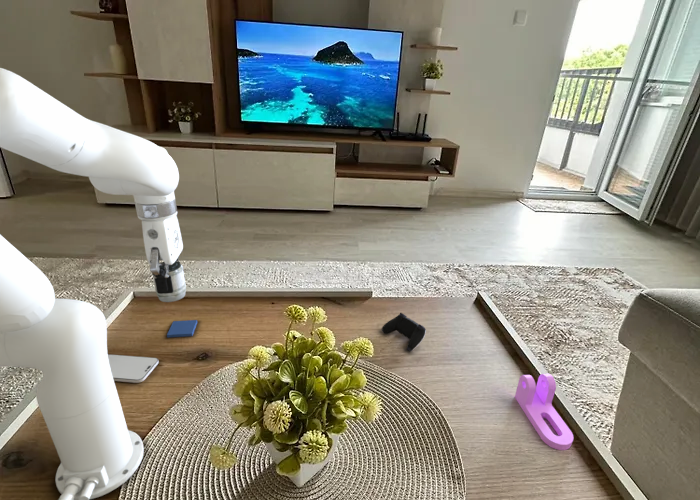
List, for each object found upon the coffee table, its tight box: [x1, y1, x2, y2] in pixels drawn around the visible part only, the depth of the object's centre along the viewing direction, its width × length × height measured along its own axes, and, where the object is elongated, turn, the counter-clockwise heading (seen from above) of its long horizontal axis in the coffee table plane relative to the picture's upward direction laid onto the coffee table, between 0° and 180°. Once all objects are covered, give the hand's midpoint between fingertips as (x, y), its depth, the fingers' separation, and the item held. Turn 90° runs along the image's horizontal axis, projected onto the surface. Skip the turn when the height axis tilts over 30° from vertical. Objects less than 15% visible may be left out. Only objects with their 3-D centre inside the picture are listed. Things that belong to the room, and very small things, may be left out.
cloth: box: [166, 319, 198, 338], centre depth 101 cm, size 6×6×1 cm
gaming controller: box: [381, 312, 427, 352], centre depth 100 cm, size 11×4×7 cm
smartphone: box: [108, 353, 160, 384], centre depth 87 cm, size 7×1×15 cm
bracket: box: [514, 373, 574, 451], centre depth 76 cm, size 13×6×7 cm, turn 6°
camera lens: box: [151, 261, 187, 303], centre depth 88 cm, size 6×6×8 cm
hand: (170, 284), depth 89 cm, fingers closed on camera lens, 6 cm apart
